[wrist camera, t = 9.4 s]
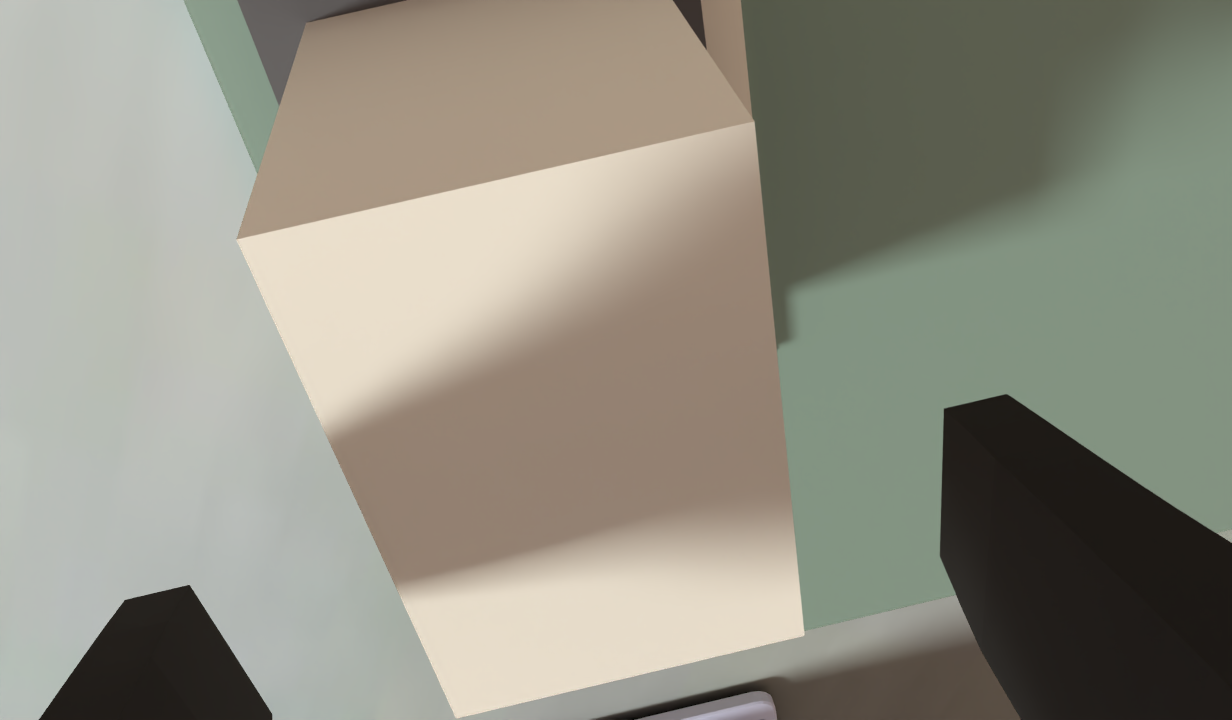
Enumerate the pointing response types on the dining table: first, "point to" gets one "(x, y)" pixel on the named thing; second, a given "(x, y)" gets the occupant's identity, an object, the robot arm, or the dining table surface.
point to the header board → (949, 242)
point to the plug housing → (537, 332)
